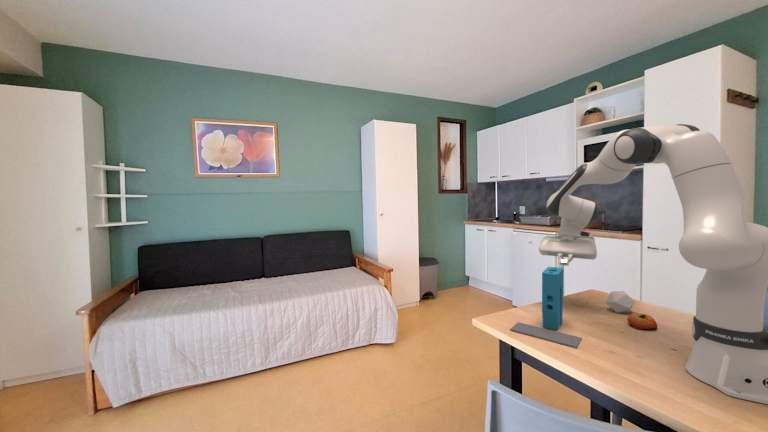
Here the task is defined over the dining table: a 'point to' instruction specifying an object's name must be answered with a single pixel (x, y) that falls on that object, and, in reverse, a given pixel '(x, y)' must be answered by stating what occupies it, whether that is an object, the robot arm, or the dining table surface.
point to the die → (620, 302)
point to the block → (552, 297)
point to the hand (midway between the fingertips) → (563, 264)
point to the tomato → (642, 321)
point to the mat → (547, 334)
